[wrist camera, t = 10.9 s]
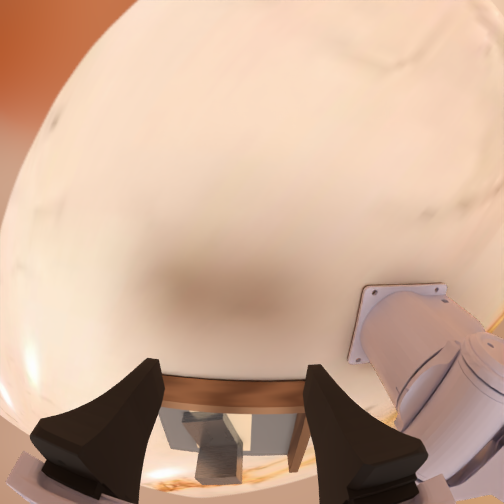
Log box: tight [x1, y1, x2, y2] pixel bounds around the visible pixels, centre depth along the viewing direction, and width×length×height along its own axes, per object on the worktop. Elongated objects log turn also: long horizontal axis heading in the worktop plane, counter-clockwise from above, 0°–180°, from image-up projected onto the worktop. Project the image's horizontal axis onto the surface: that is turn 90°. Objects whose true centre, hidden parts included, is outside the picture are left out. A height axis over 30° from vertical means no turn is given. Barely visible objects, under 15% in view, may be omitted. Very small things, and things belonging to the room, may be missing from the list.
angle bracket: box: [181, 412, 243, 485], centre depth 22 cm, size 7×4×6 cm, turn 15°
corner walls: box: [161, 375, 311, 473], centre depth 24 cm, size 16×14×3 cm
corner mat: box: [158, 377, 298, 456], centre depth 25 cm, size 16×14×1 cm
